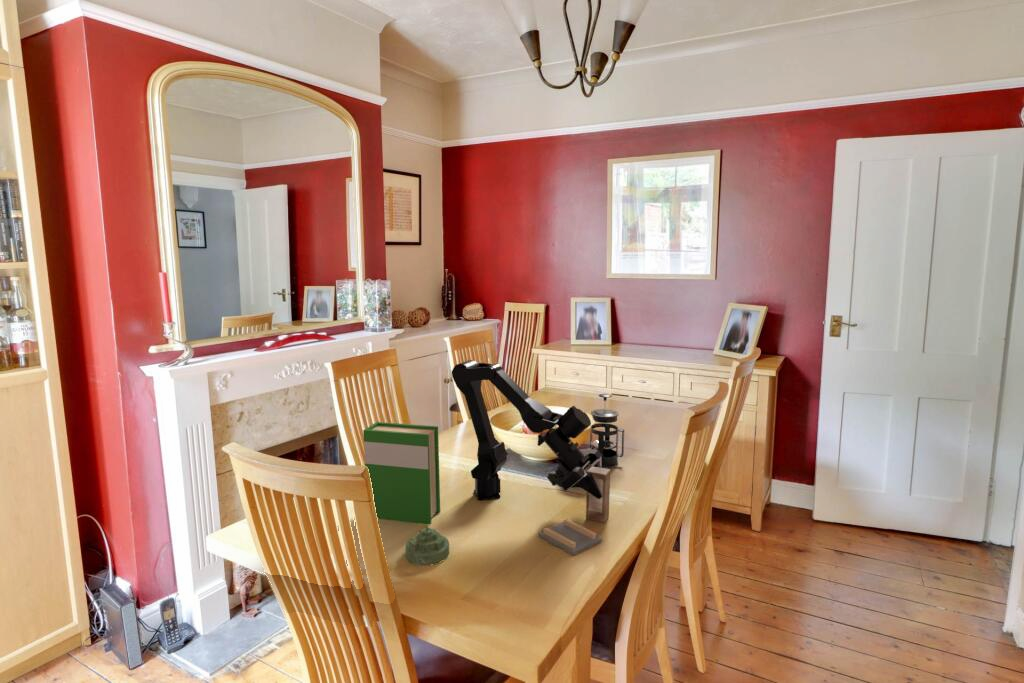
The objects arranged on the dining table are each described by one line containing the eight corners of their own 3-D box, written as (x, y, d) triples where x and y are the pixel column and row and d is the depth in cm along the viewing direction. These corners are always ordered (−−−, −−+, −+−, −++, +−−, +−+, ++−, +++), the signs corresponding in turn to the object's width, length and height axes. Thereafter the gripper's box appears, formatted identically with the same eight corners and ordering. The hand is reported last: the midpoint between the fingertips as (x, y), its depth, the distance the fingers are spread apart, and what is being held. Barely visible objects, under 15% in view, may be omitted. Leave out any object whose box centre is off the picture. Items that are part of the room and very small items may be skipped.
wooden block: (585, 518, 153) (586, 471, 151) (590, 512, 157) (591, 466, 155) (604, 522, 151) (605, 474, 149) (608, 516, 155) (610, 469, 153)
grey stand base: (537, 535, 144) (537, 528, 144) (566, 523, 151) (566, 516, 150) (573, 555, 135) (573, 547, 135) (601, 541, 142) (602, 533, 141)
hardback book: (440, 512, 158) (438, 426, 154) (430, 524, 150) (427, 435, 146) (380, 505, 162) (376, 421, 158) (367, 517, 155) (363, 430, 151)
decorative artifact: (453, 544, 141) (412, 542, 142) (452, 517, 140) (411, 515, 141) (444, 567, 131) (400, 565, 132) (443, 538, 130) (399, 536, 131)
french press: (583, 465, 190) (585, 396, 186) (591, 455, 199) (592, 389, 195) (619, 470, 186) (621, 400, 182) (625, 460, 194) (627, 392, 191)
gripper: (556, 454, 167) (592, 497, 164) (530, 477, 150) (570, 526, 147) (583, 431, 162) (621, 475, 159) (558, 452, 146) (600, 502, 143)
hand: (603, 494), depth 152 cm, fingers closed on wooden block, 4 cm apart
